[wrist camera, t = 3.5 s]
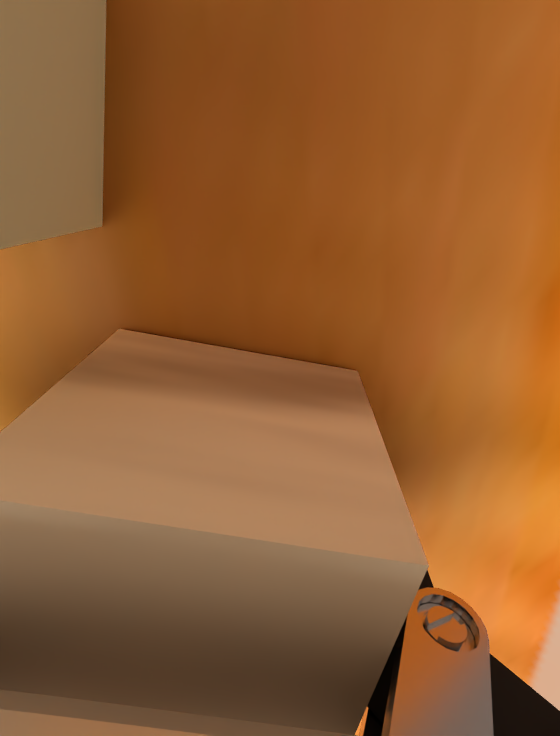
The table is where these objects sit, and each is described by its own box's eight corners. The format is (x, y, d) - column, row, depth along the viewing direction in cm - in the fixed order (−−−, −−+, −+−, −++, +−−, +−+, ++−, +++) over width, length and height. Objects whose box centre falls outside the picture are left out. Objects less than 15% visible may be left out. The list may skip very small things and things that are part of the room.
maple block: (118, 328, 11) (-68, 490, 5) (358, 370, 11) (429, 565, 5) (112, 516, 13) (-19, 765, 7) (308, 546, 13) (323, 806, 8)
